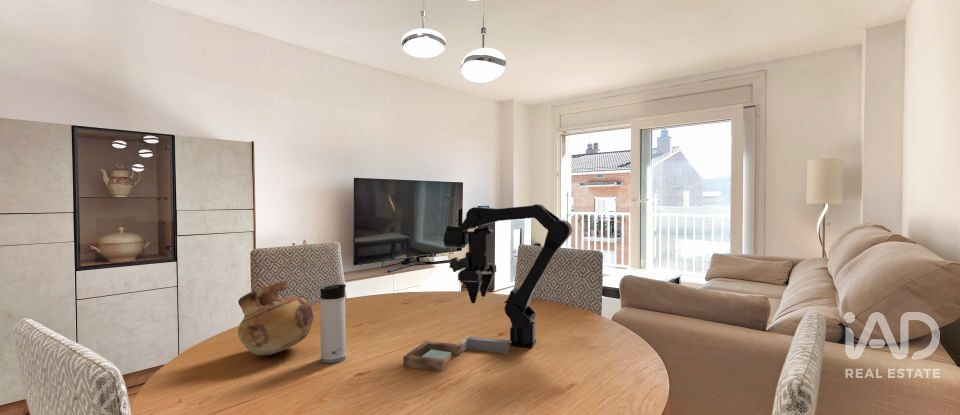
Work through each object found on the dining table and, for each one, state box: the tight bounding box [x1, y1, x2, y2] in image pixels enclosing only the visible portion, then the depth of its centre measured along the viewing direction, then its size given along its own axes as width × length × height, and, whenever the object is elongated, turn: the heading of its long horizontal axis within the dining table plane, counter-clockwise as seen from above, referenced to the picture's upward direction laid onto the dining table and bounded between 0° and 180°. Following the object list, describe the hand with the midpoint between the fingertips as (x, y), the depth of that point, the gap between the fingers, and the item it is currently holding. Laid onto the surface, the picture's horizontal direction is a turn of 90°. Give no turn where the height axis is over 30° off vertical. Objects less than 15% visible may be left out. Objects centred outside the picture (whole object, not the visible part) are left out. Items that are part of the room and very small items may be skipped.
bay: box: [402, 340, 462, 372], centre depth 113 cm, size 10×13×2 cm
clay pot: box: [237, 280, 314, 357], centre depth 118 cm, size 19×19×20 cm
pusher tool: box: [459, 335, 511, 354], centre depth 121 cm, size 13×7×3 cm, turn 71°
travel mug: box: [319, 283, 347, 365], centre depth 114 cm, size 6×7×20 cm
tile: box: [422, 350, 452, 365], centre depth 113 cm, size 6×6×2 cm
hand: (478, 299), depth 130 cm, fingers open, 9 cm apart
